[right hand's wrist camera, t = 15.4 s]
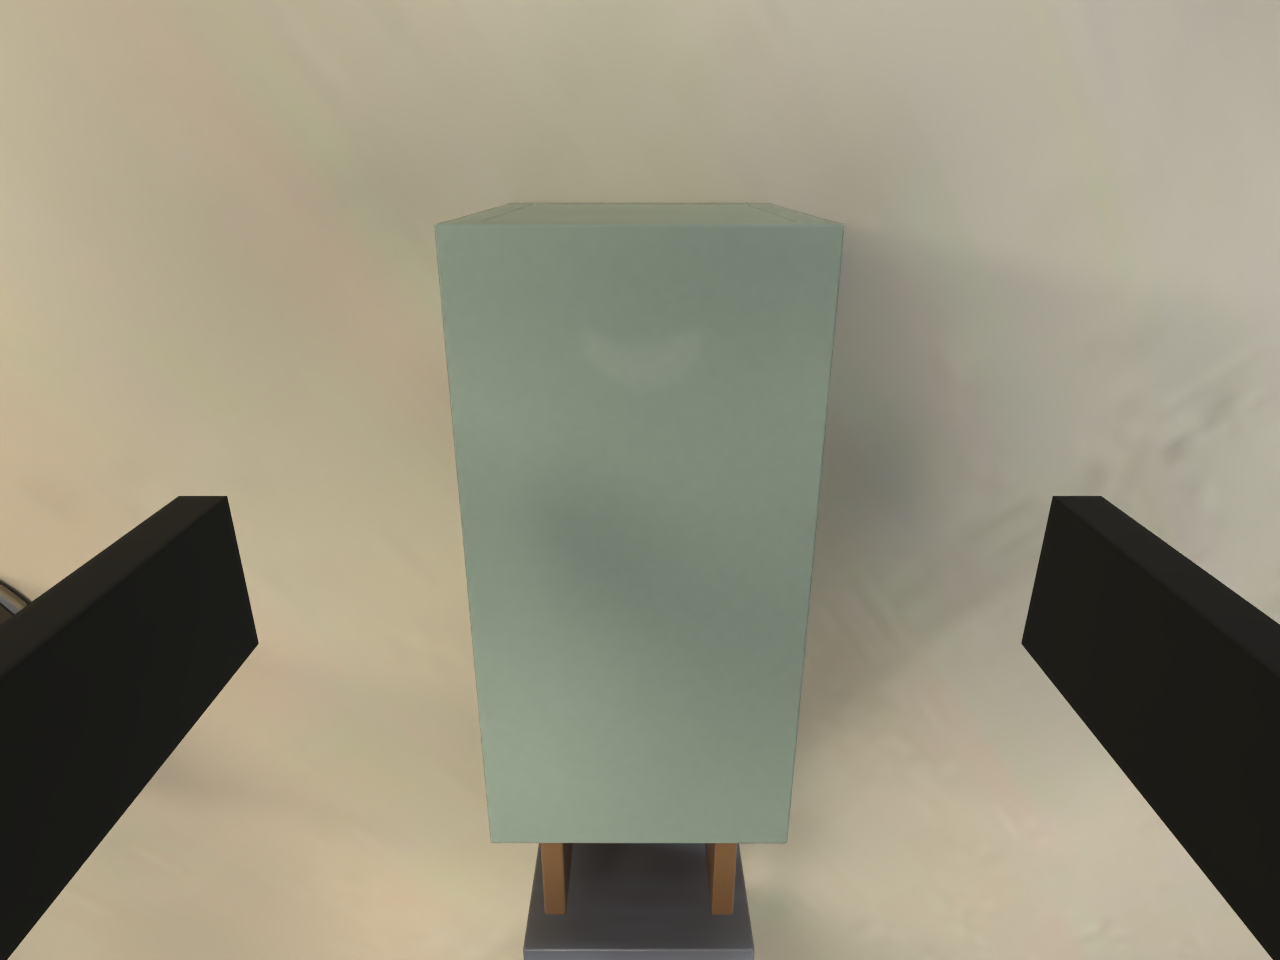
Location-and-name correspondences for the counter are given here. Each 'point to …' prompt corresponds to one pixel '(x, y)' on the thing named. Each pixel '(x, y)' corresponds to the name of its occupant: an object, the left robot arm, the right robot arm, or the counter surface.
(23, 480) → the counter surface
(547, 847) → the drawer
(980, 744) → the counter surface
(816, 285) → the cabinet
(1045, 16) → the counter surface
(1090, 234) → the counter surface
